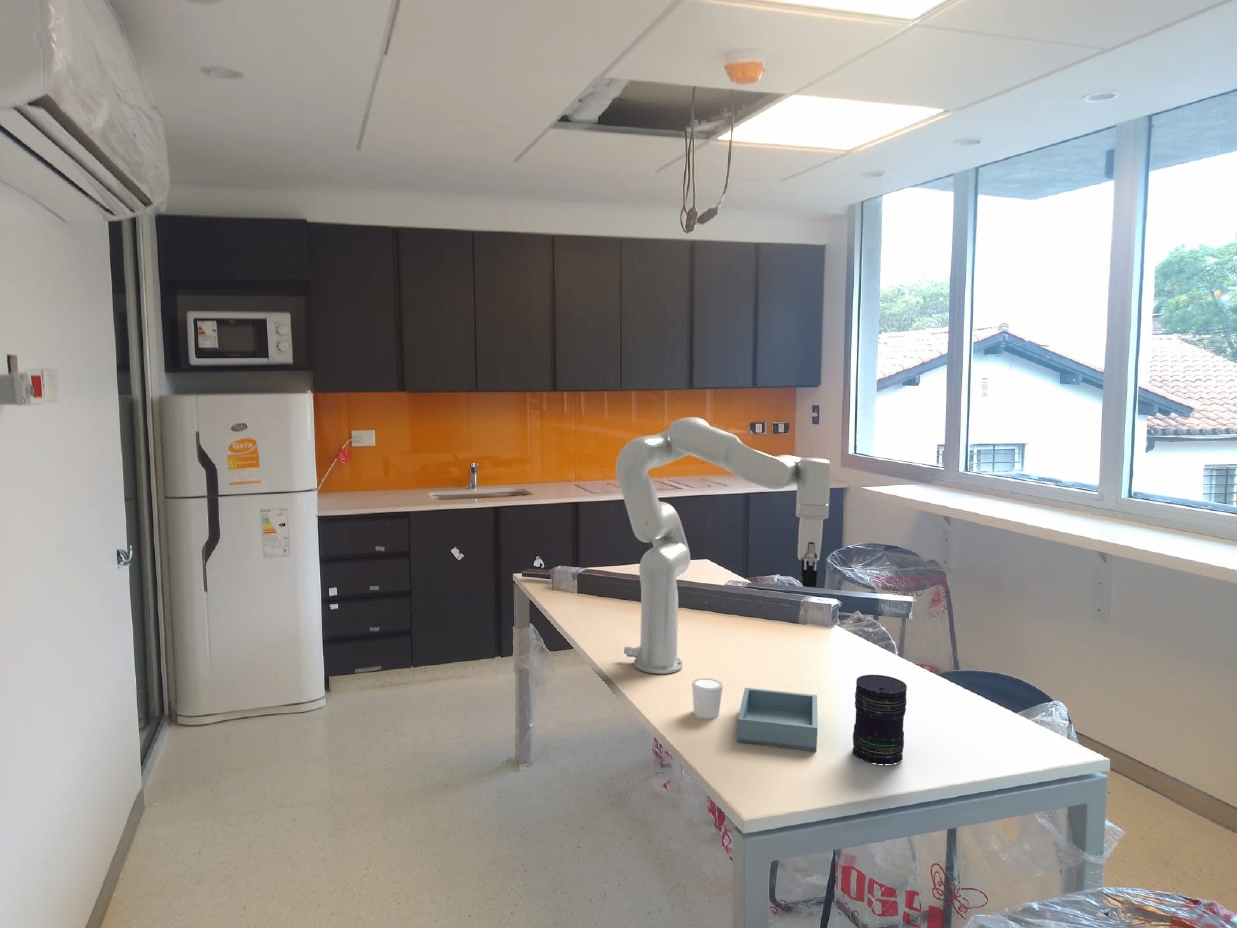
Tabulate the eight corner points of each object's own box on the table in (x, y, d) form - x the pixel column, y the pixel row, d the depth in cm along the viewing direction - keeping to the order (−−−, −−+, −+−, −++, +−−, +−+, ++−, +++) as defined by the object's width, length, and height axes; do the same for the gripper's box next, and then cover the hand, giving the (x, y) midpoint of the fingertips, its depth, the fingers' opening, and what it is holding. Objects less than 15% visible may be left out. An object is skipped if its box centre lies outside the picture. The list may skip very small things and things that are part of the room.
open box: (737, 742, 172) (737, 718, 171) (744, 708, 189) (744, 687, 189) (816, 751, 168) (817, 727, 168) (816, 716, 186) (817, 695, 185)
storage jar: (852, 740, 174) (856, 671, 172) (902, 747, 171) (906, 677, 169) (851, 761, 164) (855, 688, 163) (904, 769, 161) (908, 695, 160)
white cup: (724, 710, 188) (725, 680, 188) (718, 721, 182) (719, 690, 181) (695, 705, 191) (696, 676, 190) (687, 716, 184) (688, 686, 183)
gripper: (795, 504, 205) (792, 572, 207) (796, 515, 188) (792, 589, 190) (826, 505, 203) (823, 574, 205) (830, 517, 187) (826, 591, 188)
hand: (808, 581), depth 198 cm, fingers open, 9 cm apart
